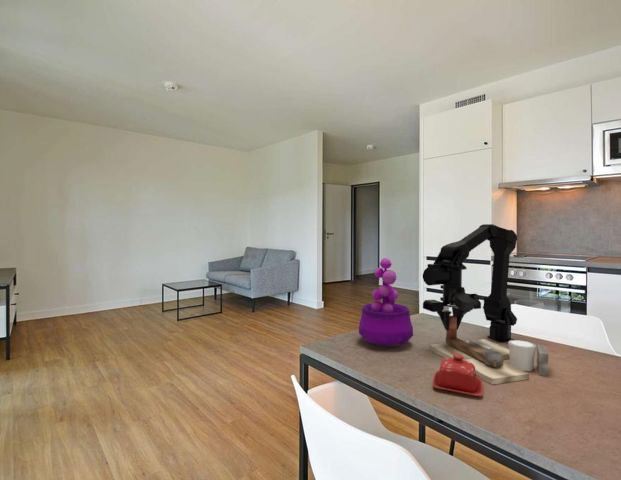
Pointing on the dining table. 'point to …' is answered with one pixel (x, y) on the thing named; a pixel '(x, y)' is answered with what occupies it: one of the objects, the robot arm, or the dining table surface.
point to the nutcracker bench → (495, 373)
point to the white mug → (522, 354)
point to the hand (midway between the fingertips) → (451, 330)
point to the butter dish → (458, 376)
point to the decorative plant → (385, 313)
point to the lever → (472, 346)
